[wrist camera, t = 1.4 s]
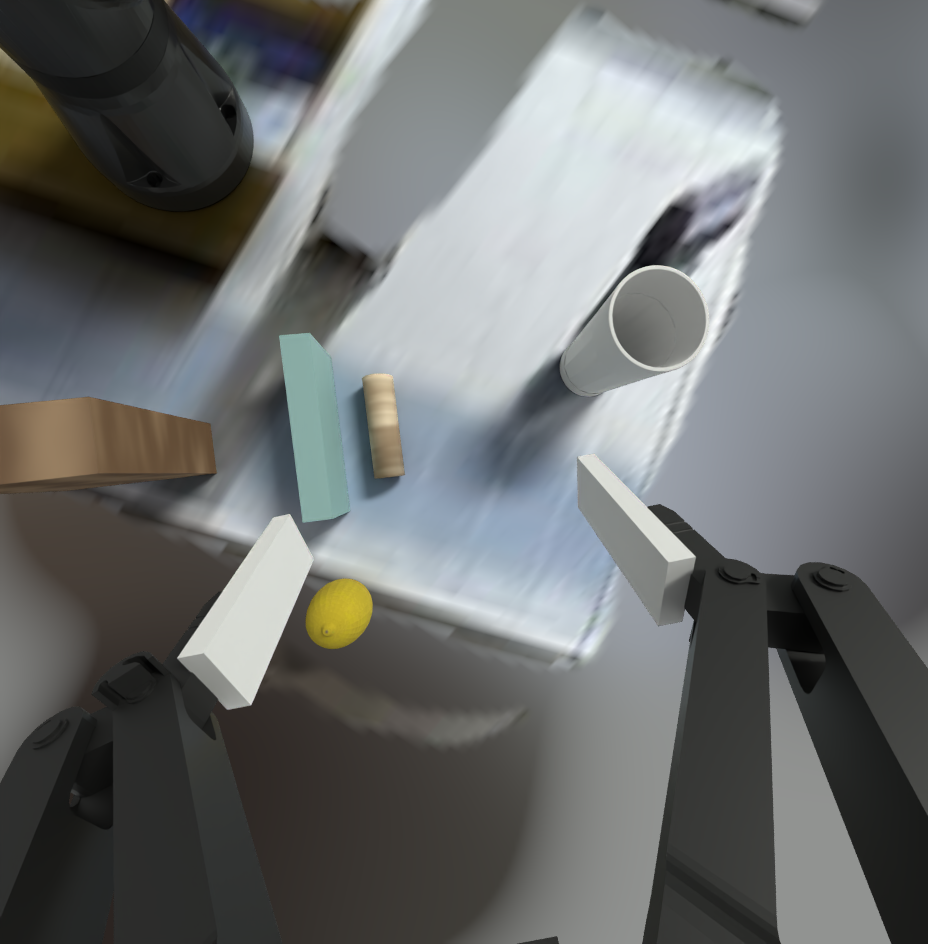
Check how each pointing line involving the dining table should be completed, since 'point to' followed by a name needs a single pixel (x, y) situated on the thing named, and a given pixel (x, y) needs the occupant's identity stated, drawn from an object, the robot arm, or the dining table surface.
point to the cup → (638, 332)
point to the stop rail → (314, 428)
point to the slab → (96, 446)
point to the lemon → (338, 613)
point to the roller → (383, 425)
